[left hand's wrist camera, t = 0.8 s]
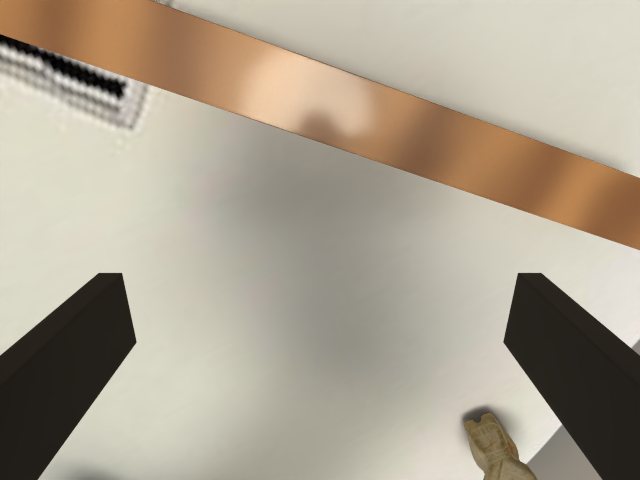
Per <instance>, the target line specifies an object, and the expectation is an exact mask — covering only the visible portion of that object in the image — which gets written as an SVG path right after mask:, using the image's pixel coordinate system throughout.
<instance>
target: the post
mask: <svg viewBox="0 0 640 480" xmlns="http://www.w3.org/2000/svg"><path fill="white" fill-rule="evenodd" d="M0 34H2V35H5V36H7V37H10V38H13V39H16V40H19V41H22V42H25V43H28V44H31V45H34V46H37V47H40V48H43V49H46V50H49V51H52V52H55V53H58V54H61V55H64V56H67V57H70V58H73V59H76V60H79V61H81V62H84V63H87V64H90V65H93V66H96V67H99V68H102V69H105V70H108V71H111V72H114V73H117V74H120V75H123V76H126V77H129V78H132V79H135V80H138V81H141V82H144V83H147V84H150V85H153V86H155V87H158V88H161V89H164V90H167V91H170V92H173V93H176V94H179V95H182V96H185V97H188V98H191V99H194V100H197V101H200V102H203V103H206V104H209V105H212V106H215V107H218V108H221V109H224V110H227V111H229V112H232V113H235V114H238V115H241V116H244V117H247V118H250V119H253V120H256V121H259V122H262V123H265V124H268V125H271V126H274V127H277V128H280V129H283V130H286V131H289V132H292V133H295V134H298V135H301V136H303V137H306V138H309V139H312V140H315V141H318V142H321V143H324V144H327V145H330V146H333V147H336V148H339V149H342V150H345V151H348V152H351V153H354V154H357V155H360V156H363V157H366V158H369V159H372V160H375V161H377V162H380V163H383V164H386V165H389V166H392V167H395V168H398V169H401V170H404V171H407V172H410V173H413V174H416V175H419V176H422V177H425V178H428V179H431V180H434V181H437V182H440V183H443V184H446V185H448V186H451V187H454V188H457V189H460V190H463V191H466V192H469V193H472V194H475V195H478V196H481V197H484V198H487V199H490V200H493V201H496V202H499V203H502V204H505V205H508V206H511V207H514V208H517V209H520V210H522V211H525V212H528V213H531V214H534V215H537V216H540V217H543V218H546V219H549V220H552V221H555V222H558V223H561V224H564V225H567V226H570V227H573V228H576V229H579V230H582V231H585V232H588V233H591V234H594V235H596V236H599V237H602V238H605V239H608V240H611V241H614V242H617V243H620V244H623V245H626V246H629V247H632V248H635V249H638V250H640V178H638V177H635V176H633V175H630V174H627V173H624V172H622V171H619V170H616V169H613V168H611V167H608V166H605V165H602V164H600V163H597V162H594V161H591V160H589V159H586V158H583V157H580V156H578V155H575V154H572V153H569V152H567V151H564V150H561V149H558V148H556V147H553V146H550V145H547V144H545V143H542V142H539V141H536V140H534V139H531V138H528V137H525V136H523V135H520V134H517V133H514V132H512V131H509V130H506V129H503V128H501V127H498V126H495V125H492V124H490V123H487V122H484V121H481V120H479V119H476V118H473V117H470V116H468V115H465V114H462V113H459V112H457V111H454V110H451V109H448V108H446V107H443V106H440V105H437V104H435V103H432V102H429V101H426V100H424V99H421V98H418V97H415V96H413V95H410V94H407V93H404V92H402V91H399V90H396V89H393V88H391V87H388V86H385V85H382V84H380V83H377V82H374V81H371V80H369V79H366V78H363V77H360V76H358V75H355V74H352V73H349V72H347V71H344V70H341V69H339V68H336V67H333V66H330V65H328V64H325V63H322V62H319V61H317V60H314V59H311V58H308V57H306V56H303V55H300V54H297V53H295V52H292V51H289V50H286V49H284V48H281V47H278V46H275V45H273V44H270V43H267V42H264V41H262V40H259V39H256V38H253V37H251V36H248V35H245V34H242V33H240V32H237V31H234V30H231V29H229V28H226V27H223V26H220V25H218V24H215V23H212V22H209V21H207V20H204V19H201V18H198V17H196V16H193V15H190V14H187V13H185V12H182V11H179V10H176V9H174V8H171V7H168V6H165V5H163V4H160V3H157V2H154V1H152V0H0Z"/></svg>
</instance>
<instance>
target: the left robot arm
mask: <svg viewBox="0 0 640 480" xmlns="http://www.w3.org/2000/svg"><path fill="white" fill-rule="evenodd" d="M135 344H136V337H135V332H134V328H133V323H132V318H131V314H130V309H129V304H128V299H127V295H126V290H125V285H124V280H123V276H122V273H98V274H97V275H96V276H95V277H94V278H92V279H91V280H90V281H89V282H88V283H86V284H85V285H84V286H83V287H82V288H80V289H79V290H78V291H77V292H76V293H74V294H73V295H72V296H71V297H70V298H68V299H67V300H66V301H65V302H64V303H62V304H61V305H60V306H59V307H58V308H57V309H55V310H54V311H53V312H52V313H51V314H49V315H48V316H47V317H46V318H45V319H43V320H42V321H41V322H40V323H39V324H37V325H36V326H35V327H34V328H33V329H31V330H30V331H29V332H28V333H27V334H25V335H24V336H23V337H22V338H21V339H20V340H18V341H17V342H16V343H15V344H14V345H12V346H11V347H10V348H9V349H8V350H6V351H5V352H4V353H3V354H2V355H0V480H38V478H39V477H40V476H41V474H42V473H43V471H44V470H45V469H46V467H47V466H48V464H49V463H50V462H51V460H52V459H53V458H54V456H55V455H56V453H57V452H58V451H59V449H60V448H61V446H62V445H63V444H64V442H65V441H66V439H67V438H68V437H69V435H70V434H71V433H72V431H73V430H74V428H75V427H76V426H77V424H78V423H79V421H80V420H81V419H82V417H83V416H84V414H85V413H86V412H87V410H88V409H89V408H90V406H91V405H92V403H93V402H94V401H95V399H96V398H97V396H98V395H99V394H100V392H101V391H102V390H103V388H104V387H105V385H106V384H107V383H108V381H109V380H110V378H111V377H112V376H113V374H114V373H115V371H116V370H117V369H118V367H119V366H120V365H121V363H122V362H123V360H124V359H125V358H126V356H127V355H128V353H129V352H130V351H131V349H132V348H133V347H134V345H135ZM504 344H505V345H506V347H507V348H508V349H509V351H510V352H511V353H512V355H513V356H514V358H515V359H516V360H517V362H518V363H519V365H520V366H521V367H522V369H523V370H524V371H525V373H526V374H527V376H528V377H529V378H530V380H531V381H532V383H533V384H534V385H535V387H536V388H537V390H538V391H539V392H540V394H541V395H542V396H543V398H544V399H545V401H546V402H547V403H548V405H549V406H550V408H551V409H552V410H553V412H554V413H555V415H556V416H557V417H558V419H559V420H560V421H561V423H562V424H563V426H564V427H565V428H566V430H567V431H568V433H569V434H570V435H571V437H572V438H573V439H574V441H575V442H576V444H577V445H578V446H579V448H580V449H581V451H582V452H583V453H584V455H585V456H586V457H587V459H588V460H589V462H590V463H591V464H592V466H593V467H594V469H595V470H596V471H597V473H598V474H599V476H600V477H601V478H602V480H640V355H638V354H637V353H636V352H635V351H634V350H632V349H631V348H630V347H629V346H628V345H626V344H625V343H624V342H623V341H622V340H620V339H619V338H618V337H617V336H616V335H615V334H613V333H612V332H611V331H610V330H609V329H607V328H606V327H605V326H604V325H603V324H601V323H600V322H599V321H598V320H597V319H595V318H594V317H593V316H592V315H591V314H589V313H588V312H587V311H586V310H585V309H583V308H582V307H581V306H580V305H579V304H578V303H576V302H575V301H574V300H573V299H572V298H570V297H569V296H568V295H567V294H566V293H564V292H563V291H562V290H561V289H560V288H558V287H557V286H556V285H555V284H554V283H552V282H551V281H550V280H549V279H548V278H546V277H545V276H544V275H543V274H542V273H518V276H517V280H516V285H515V290H514V295H513V299H512V304H511V309H510V314H509V318H508V323H507V328H506V332H505V337H504Z"/></svg>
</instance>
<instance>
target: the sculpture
mask: <svg viewBox="0 0 640 480" xmlns="http://www.w3.org/2000/svg"><path fill="white" fill-rule="evenodd" d="M464 426H465V429H466V432H467V435H468V439H469V444H470V448H471V452H472V455H473V458H474V460H475V462H476V464H477V465H478V466H479V467H480V468H481V469H482V470H483V471H484V473H485V476H484V479H483V480H537V478H536V476H535V475H534V473H533V472H532V471H531V470H530V468H529V467H528V466H527V465H526V464H524V463H522V462H520V460H519V455H518V450H517V447H516V445H515V443H514V442H513V440H512V439H511V438H510V436H509V435H508V434H507V432H506V431H505V430H504V429H503V428H502V427H501V425H500V424H499V422H498V421H497V420H496V419H495V417H494V416H493V415H492V414H491V413H486V414H483V415H482V416H481V421H480V422H475V421H474V420H473V419H471V420H469V421H466V422H465V423H464Z"/></svg>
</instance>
